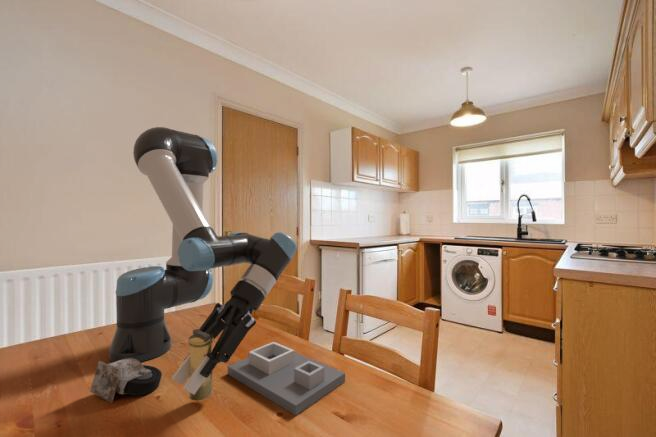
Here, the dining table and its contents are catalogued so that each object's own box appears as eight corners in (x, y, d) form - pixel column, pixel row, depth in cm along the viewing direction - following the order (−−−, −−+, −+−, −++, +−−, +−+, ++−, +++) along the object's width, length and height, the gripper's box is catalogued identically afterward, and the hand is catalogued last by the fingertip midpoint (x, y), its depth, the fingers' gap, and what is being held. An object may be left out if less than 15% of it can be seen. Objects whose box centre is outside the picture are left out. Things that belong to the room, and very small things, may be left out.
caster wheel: (164, 393, 71) (125, 414, 61) (129, 375, 74) (87, 392, 65) (172, 365, 71) (134, 380, 62) (137, 348, 75) (96, 360, 65)
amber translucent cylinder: (183, 394, 63) (183, 332, 63) (205, 384, 67) (205, 326, 66) (195, 404, 60) (196, 340, 59) (218, 393, 63) (218, 332, 63)
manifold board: (227, 374, 75) (227, 353, 75) (277, 351, 87) (277, 334, 87) (295, 415, 59) (295, 390, 59) (345, 381, 72) (345, 360, 72)
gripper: (285, 304, 69) (218, 412, 57) (241, 290, 80) (176, 378, 68) (267, 285, 65) (190, 397, 53) (222, 273, 76) (150, 363, 64)
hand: (182, 386), depth 60 cm, fingers closed on amber translucent cylinder, 4 cm apart
